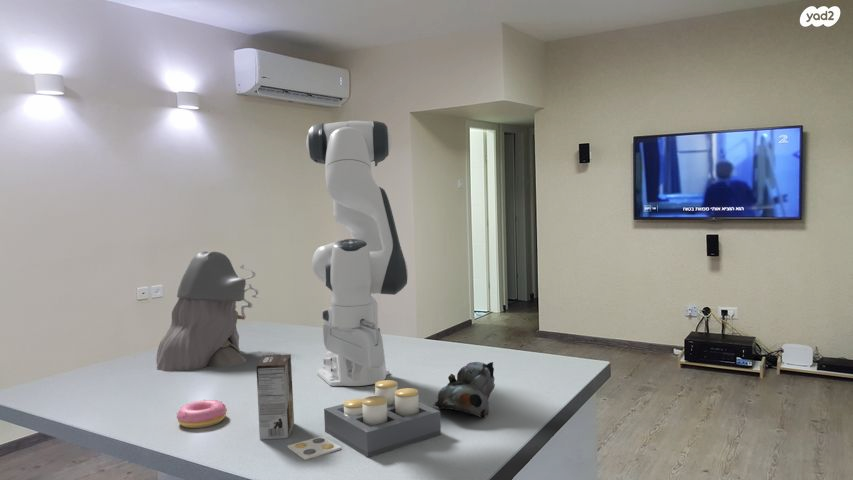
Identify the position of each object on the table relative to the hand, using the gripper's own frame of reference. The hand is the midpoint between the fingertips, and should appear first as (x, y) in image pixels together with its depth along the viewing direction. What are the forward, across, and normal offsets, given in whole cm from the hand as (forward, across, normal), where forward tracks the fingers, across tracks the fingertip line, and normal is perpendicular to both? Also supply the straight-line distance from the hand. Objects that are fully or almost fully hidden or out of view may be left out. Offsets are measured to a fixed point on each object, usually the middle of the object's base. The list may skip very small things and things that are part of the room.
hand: (353, 379), depth 132 cm
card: (+12, -3, +11) cm, 16 cm away
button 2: (+7, -9, 0) cm, 11 cm away
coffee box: (+12, +11, +13) cm, 21 cm away
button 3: (+7, -1, -8) cm, 11 cm away
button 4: (+7, -9, -8) cm, 14 cm away
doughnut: (+13, +29, +24) cm, 40 cm away
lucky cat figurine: (+12, -6, -26) cm, 29 cm away
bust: (+15, +90, +5) cm, 91 cm away
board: (+11, -5, -4) cm, 13 cm away
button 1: (+10, -1, 0) cm, 10 cm away
